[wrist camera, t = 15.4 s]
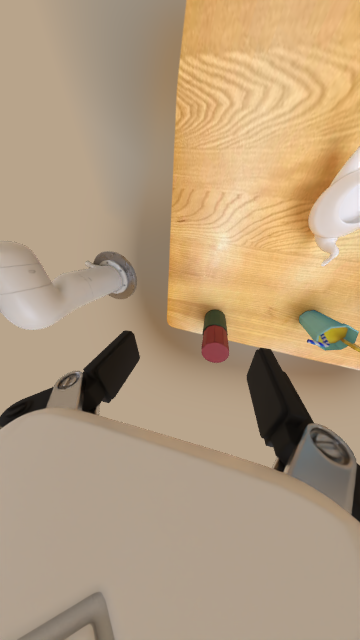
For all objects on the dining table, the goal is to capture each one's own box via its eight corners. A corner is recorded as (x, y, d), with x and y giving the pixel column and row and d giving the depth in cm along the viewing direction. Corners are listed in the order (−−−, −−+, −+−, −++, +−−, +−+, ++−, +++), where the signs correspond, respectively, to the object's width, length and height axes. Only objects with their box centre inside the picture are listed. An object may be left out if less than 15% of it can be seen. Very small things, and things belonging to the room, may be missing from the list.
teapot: (284, 264, 34) (304, 270, 27) (314, 152, 25) (359, 110, 17) (329, 261, 32) (365, 266, 24) (381, 136, 22) (471, 77, 14)
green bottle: (201, 320, 49) (196, 346, 36) (212, 306, 45) (211, 329, 32) (217, 329, 49) (217, 359, 37) (229, 316, 45) (234, 343, 33)
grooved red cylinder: (199, 336, 40) (196, 354, 34) (212, 321, 37) (211, 338, 30) (217, 346, 41) (217, 366, 34) (231, 332, 37) (235, 351, 30)
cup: (275, 323, 43) (300, 356, 30) (287, 301, 39) (321, 329, 26) (323, 331, 40) (371, 371, 28) (341, 310, 36) (407, 344, 24)
